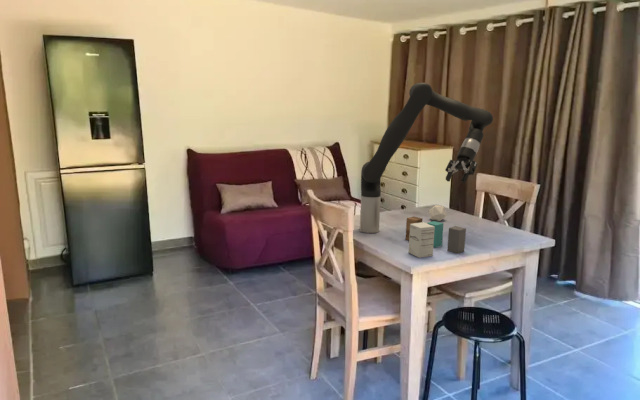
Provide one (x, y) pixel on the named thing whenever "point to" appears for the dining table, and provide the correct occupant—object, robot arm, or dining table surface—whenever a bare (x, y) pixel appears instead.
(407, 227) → the walnut block
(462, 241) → the charcoal block
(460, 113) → the robot arm
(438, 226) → the teal block
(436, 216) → the die
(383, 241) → the dining table surface
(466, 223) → the dining table surface
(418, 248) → the supplement box
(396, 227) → the dining table surface
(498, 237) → the dining table surface
